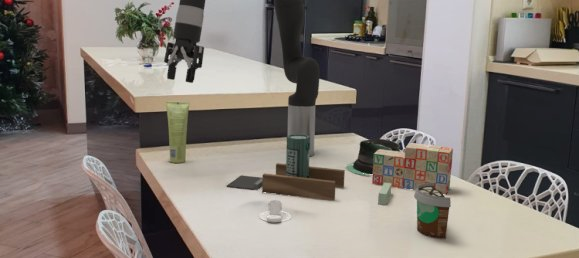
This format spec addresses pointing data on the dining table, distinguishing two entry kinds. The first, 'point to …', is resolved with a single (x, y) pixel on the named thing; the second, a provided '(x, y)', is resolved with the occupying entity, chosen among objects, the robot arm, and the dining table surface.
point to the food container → (432, 211)
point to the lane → (304, 183)
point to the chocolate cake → (370, 155)
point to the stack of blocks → (414, 167)
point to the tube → (177, 130)
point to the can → (298, 155)
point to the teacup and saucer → (274, 212)
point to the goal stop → (384, 193)
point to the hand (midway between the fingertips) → (179, 80)
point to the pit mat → (246, 183)
